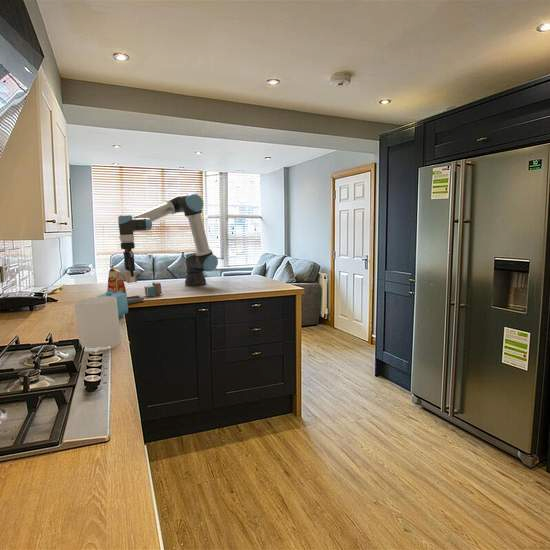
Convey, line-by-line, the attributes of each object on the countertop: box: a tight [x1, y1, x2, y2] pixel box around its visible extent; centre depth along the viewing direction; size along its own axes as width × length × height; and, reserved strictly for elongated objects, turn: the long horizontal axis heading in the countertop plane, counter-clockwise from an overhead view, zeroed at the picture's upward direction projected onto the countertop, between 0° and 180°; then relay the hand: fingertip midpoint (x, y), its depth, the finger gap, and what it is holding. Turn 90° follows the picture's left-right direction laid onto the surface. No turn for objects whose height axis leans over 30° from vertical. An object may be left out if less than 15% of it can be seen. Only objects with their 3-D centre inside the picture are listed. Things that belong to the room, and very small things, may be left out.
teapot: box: [96, 290, 129, 319], centre depth 190 cm, size 22×11×14 cm, turn 175°
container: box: [74, 296, 122, 349], centre depth 149 cm, size 14×14×18 cm
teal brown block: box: [144, 281, 163, 297], centre depth 246 cm, size 9×7×8 cm
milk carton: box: [106, 266, 127, 293], centre depth 242 cm, size 9×9×20 cm
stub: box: [124, 270, 138, 284], centre depth 227 cm, size 5×5×6 cm
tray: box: [127, 295, 145, 305], centre depth 229 cm, size 10×10×2 cm
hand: (131, 281), depth 227 cm, fingers closed on stub, 5 cm apart
